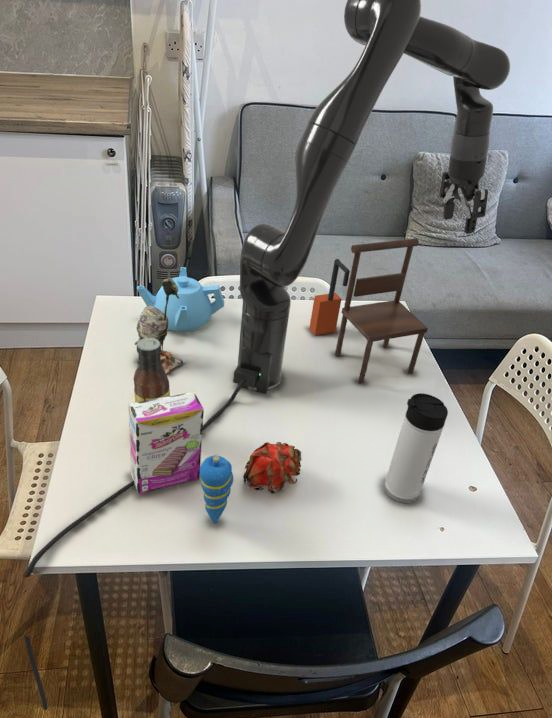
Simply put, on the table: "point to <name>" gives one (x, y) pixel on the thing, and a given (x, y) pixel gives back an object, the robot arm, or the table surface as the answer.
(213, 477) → the ornament
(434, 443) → the travel mug
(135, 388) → the sauce bottle
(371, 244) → the chair
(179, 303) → the teapot
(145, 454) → the candy bar box
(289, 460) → the dragon fruit
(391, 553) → the table surface
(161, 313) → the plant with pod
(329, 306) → the orange open padlock
